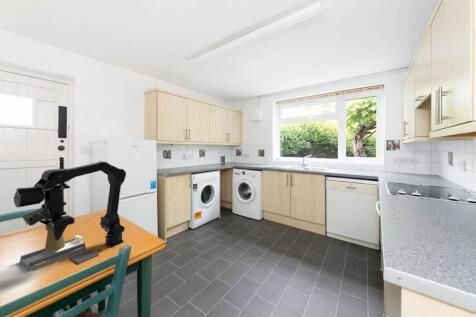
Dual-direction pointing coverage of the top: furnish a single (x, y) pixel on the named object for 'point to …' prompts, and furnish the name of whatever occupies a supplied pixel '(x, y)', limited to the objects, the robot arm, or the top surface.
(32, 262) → the grey slide rail tray
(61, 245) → the cork
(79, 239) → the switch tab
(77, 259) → the rubber pad
